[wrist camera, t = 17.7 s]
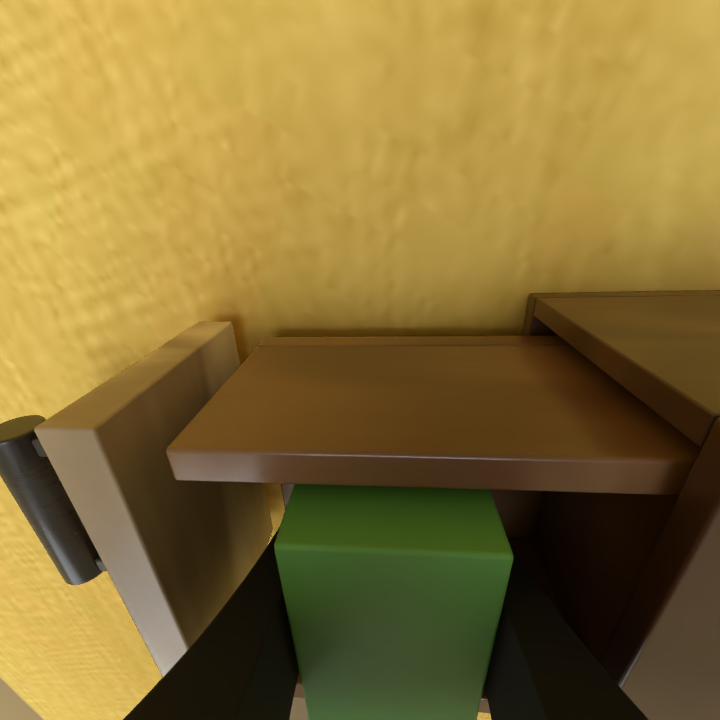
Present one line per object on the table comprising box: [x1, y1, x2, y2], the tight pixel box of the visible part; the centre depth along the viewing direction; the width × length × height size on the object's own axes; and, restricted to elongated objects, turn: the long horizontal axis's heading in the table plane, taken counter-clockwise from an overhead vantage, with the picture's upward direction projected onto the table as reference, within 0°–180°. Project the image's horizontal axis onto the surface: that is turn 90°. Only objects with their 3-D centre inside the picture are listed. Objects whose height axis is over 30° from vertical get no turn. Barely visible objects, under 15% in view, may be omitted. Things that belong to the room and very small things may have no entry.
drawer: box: [0, 321, 702, 713], centre depth 11 cm, size 18×10×6 cm, turn 92°
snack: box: [274, 484, 514, 720], centre depth 9 cm, size 4×6×4 cm, turn 2°
